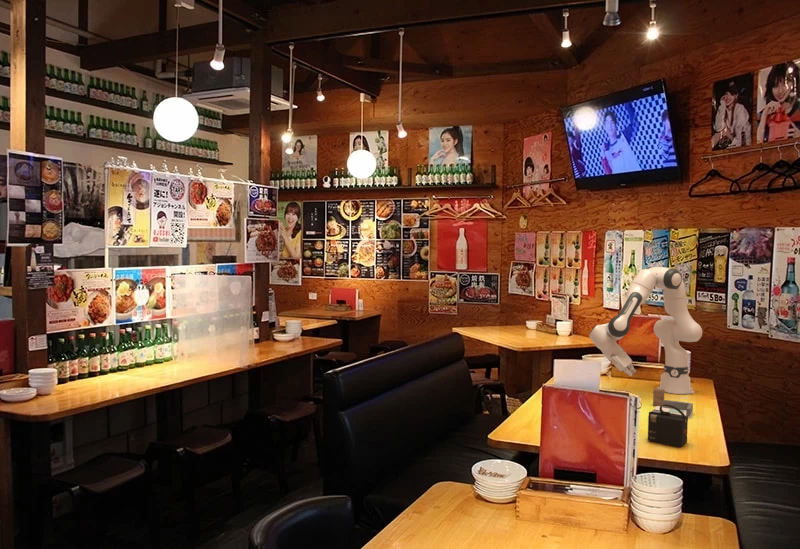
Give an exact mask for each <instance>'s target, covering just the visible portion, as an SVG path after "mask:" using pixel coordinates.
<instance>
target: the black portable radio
mask: <svg viewBox="0 0 800 549" xmlns="http://www.w3.org/2000/svg"><path fill="white" fill-rule="evenodd" d="M662 406H668V407H671V408H674V409H675V410H677V411H678V412H679V413H680V414H681V415H679V414H673V413H670V412H665V411H663V410H662ZM662 406H660V410H655V408H654V409H653V410H651V411H649V412H648V418H647V420H648V421H647V441H648V442H652V443H655V444H656V443H658V444H662V445H668V446H673V447H678V448H682V447H683V446H684V445H685V444H687V443H688V424H689V423H688V421H689V419H688V416H685V415H684V413H683V412H682V411H681V410H679V409H678V408H676V407H674V406H672V405H667V404H664V405H662Z"/></svg>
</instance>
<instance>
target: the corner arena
mask: <svg viewBox="0 0 800 549" xmlns="http://www.w3.org/2000/svg"><path fill="white" fill-rule="evenodd" d="M664 404H667V405H672V406H674V407H676V408H678V409H679V410H681V411H682V412H683V413H684V415H685V416H688V420H689V419H691V417H692V414H693V410H694V408H693V407H694V403H692V402H685V401H676V400H669V399H664V400H663V405H664ZM654 409H655V410H660V406H655V408H654ZM662 410H663V411H665V412H670V413H673V414H679V415H681V414H680V413H679V412H678V411H677V410H675V409H674V408H671V407H668V406H663V407H662Z"/></svg>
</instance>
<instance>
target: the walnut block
mask: <svg viewBox="0 0 800 549" xmlns="http://www.w3.org/2000/svg"><path fill="white" fill-rule="evenodd" d="M665 393H666V392H665V390H664V389H657V387H656V388H654V389H653V393H652V394H653V395H652V398H653V399H652V407H656V406H662V405H663V400H665ZM662 407H663V406H662Z"/></svg>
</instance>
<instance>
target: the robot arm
mask: <svg viewBox="0 0 800 549" xmlns="http://www.w3.org/2000/svg"><path fill="white" fill-rule="evenodd" d="M627 288H628V289H627V290H626V294H625V296H626V300H625V303H624V304H623V306H622V307H621V309H620V311H619V313H618V314H617V315H615V317H613V318H611V319H610V320H609V322H607V323H604V324H596V325H595V326H594V327H593V328H592V329H591V330H590V331H589V333H588V335H589V336H588V337H589V339H590V340H591V342H592V343H593V344H594V345H595V347H596V348H597V349H599V350H600V351H601V352H602V354H603V355H604V357H606V359H607V360H608V361H610V362H611V363H612V365H613V366H614V367H615V368H616V369H617V370H618V372H624V373H625V374H626V375H628V376H629V377H632V376H633V375H634V374H636V372H637V370H636V369H635V368H634V365H633V364H632V363H633V360H632V359H631V357H630V356H629V355H628V354H627V352H626V351H625V349H624V347H623V346H620V345H619V344H618V343H617V341H618V340H621V339H622V338H623V337H625V336H626V335H627V334H628V333H629V331H630V329H631V328H630V327H631V326H630V325H631V320H632V318H633V316H634V315H635V313H636V311H637V310H638V308H639V307H640V306H641V305H643V304H644V303H646V301H647V300H648V298H649V297H650V296H651V294H652V292H653V291H654V289H655V288H658V289H663V303H664V305H663V306H664V311H665V312H666V313H667V314H668V315H670V316H671V317H672V319H668V318H666V319H665V318H664V319H658V320H657V321H656V322H655V323H654V325H653V333H654V334H655V336H656V338H658V339H659V340H660V341H661V343H662V345H663V348H664V354H665V355H664V357H665V358H664V359H665V360H664V361H665V364H664V367H663V371H664V372H663V373H661V374H660V383H659V384H660V385H659V386H657V387H656V389H664V390H665V392H664V393H667V394H668V393H669V394H673V395H674V394H675V395H688V394H691V395H692V394H693V395H694V394H695V391H694V388H693V387H692V384H691V377H690V375H689V374H688V373H689V367H688V360H689V359H688V357H689V356H688V352H687V350H686V349H685V348H683V347H682V346H681V345H680V342H685V343H695V342H698V341H700V339H702V336H703V328H702V327H701V326H700V324H699V323H697V322H696V321H695V320H694V319H693V317H692V315H691V313H690V312H689V309H688V303H687V294H686V288H685V283H684V279H683V276H682V274H681V272H680V271H679V270H677V269H675V268H671V267H665V266H664V267H663V266H648V267H646V268H643V269H641V270H640V271H639V272H638V273H637V274H636V276H635V277H634V278H633V280H632V281H631V283H630V284H629V287H627Z"/></svg>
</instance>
